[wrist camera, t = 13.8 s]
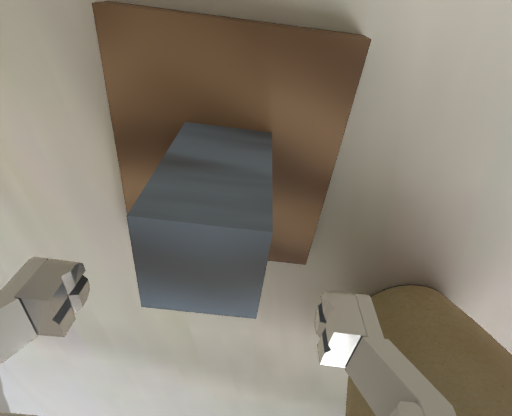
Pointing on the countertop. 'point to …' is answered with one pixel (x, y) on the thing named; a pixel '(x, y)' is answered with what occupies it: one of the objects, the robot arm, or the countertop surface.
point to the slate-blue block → (205, 223)
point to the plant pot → (443, 352)
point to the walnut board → (232, 99)
